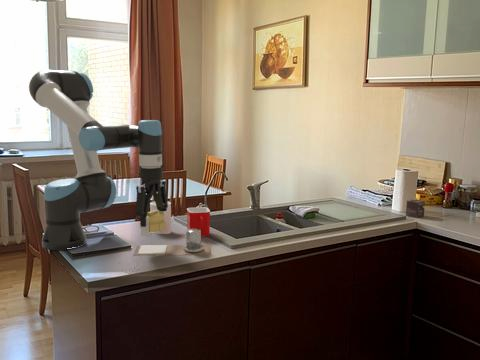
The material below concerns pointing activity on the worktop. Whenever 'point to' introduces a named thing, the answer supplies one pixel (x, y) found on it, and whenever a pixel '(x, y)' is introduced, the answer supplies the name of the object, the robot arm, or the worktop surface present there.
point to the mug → (166, 217)
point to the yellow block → (156, 221)
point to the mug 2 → (199, 219)
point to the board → (177, 251)
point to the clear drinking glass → (193, 241)
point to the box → (415, 208)
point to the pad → (152, 249)
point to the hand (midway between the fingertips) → (152, 232)
